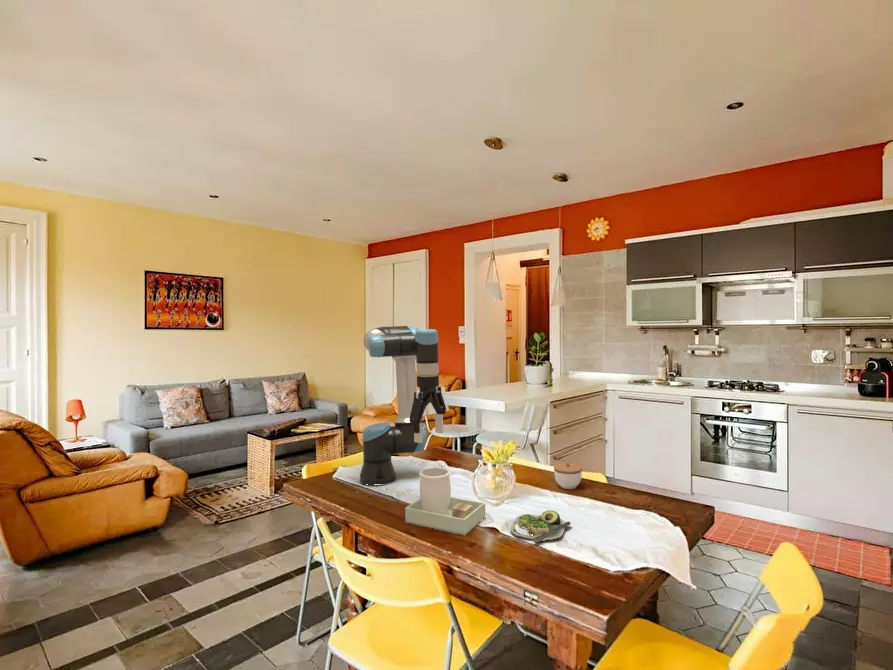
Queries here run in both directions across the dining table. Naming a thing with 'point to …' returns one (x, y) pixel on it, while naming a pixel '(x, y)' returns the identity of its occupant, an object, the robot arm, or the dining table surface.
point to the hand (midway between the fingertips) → (429, 437)
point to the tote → (446, 517)
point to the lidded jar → (568, 475)
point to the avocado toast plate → (540, 526)
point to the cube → (461, 510)
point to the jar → (435, 490)
